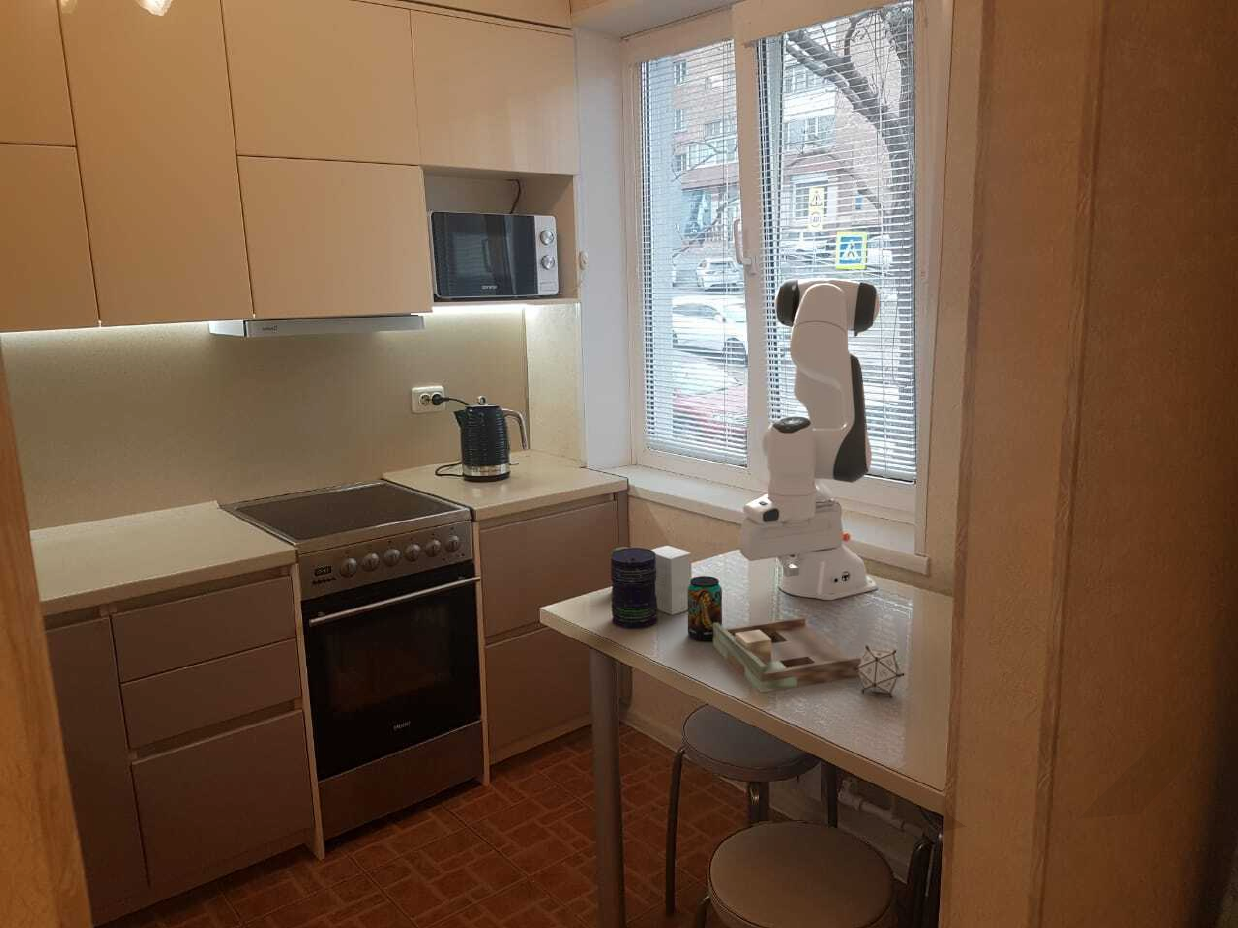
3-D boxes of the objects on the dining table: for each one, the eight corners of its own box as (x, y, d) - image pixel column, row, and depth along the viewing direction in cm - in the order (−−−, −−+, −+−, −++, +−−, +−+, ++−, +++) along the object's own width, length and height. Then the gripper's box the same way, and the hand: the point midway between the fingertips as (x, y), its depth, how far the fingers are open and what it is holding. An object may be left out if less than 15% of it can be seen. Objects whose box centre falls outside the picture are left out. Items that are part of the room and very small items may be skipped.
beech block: (759, 648, 178) (759, 629, 177) (770, 658, 173) (771, 639, 172) (735, 652, 176) (735, 633, 176) (746, 662, 172) (746, 642, 171)
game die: (866, 709, 165) (841, 656, 168) (909, 690, 165) (884, 638, 168) (872, 706, 156) (846, 651, 160) (919, 687, 156) (891, 632, 160)
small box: (692, 608, 205) (692, 552, 203) (671, 615, 201) (670, 558, 199) (668, 599, 211) (667, 544, 209) (647, 605, 208) (646, 550, 205)
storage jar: (612, 612, 204) (611, 548, 201) (657, 612, 204) (656, 547, 200) (611, 629, 194) (609, 562, 191) (657, 629, 194) (656, 561, 191)
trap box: (802, 632, 190) (802, 609, 189) (859, 675, 170) (860, 650, 169) (713, 646, 185) (712, 622, 184) (761, 692, 164) (761, 666, 163)
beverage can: (692, 643, 186) (691, 587, 183) (684, 630, 193) (683, 576, 190) (725, 641, 187) (725, 585, 184) (717, 628, 194) (716, 573, 191)
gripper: (832, 494, 177) (832, 562, 180) (735, 507, 171) (736, 577, 174) (850, 502, 171) (849, 572, 174) (749, 516, 165) (750, 588, 169)
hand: (792, 575), depth 174 cm, fingers closed
